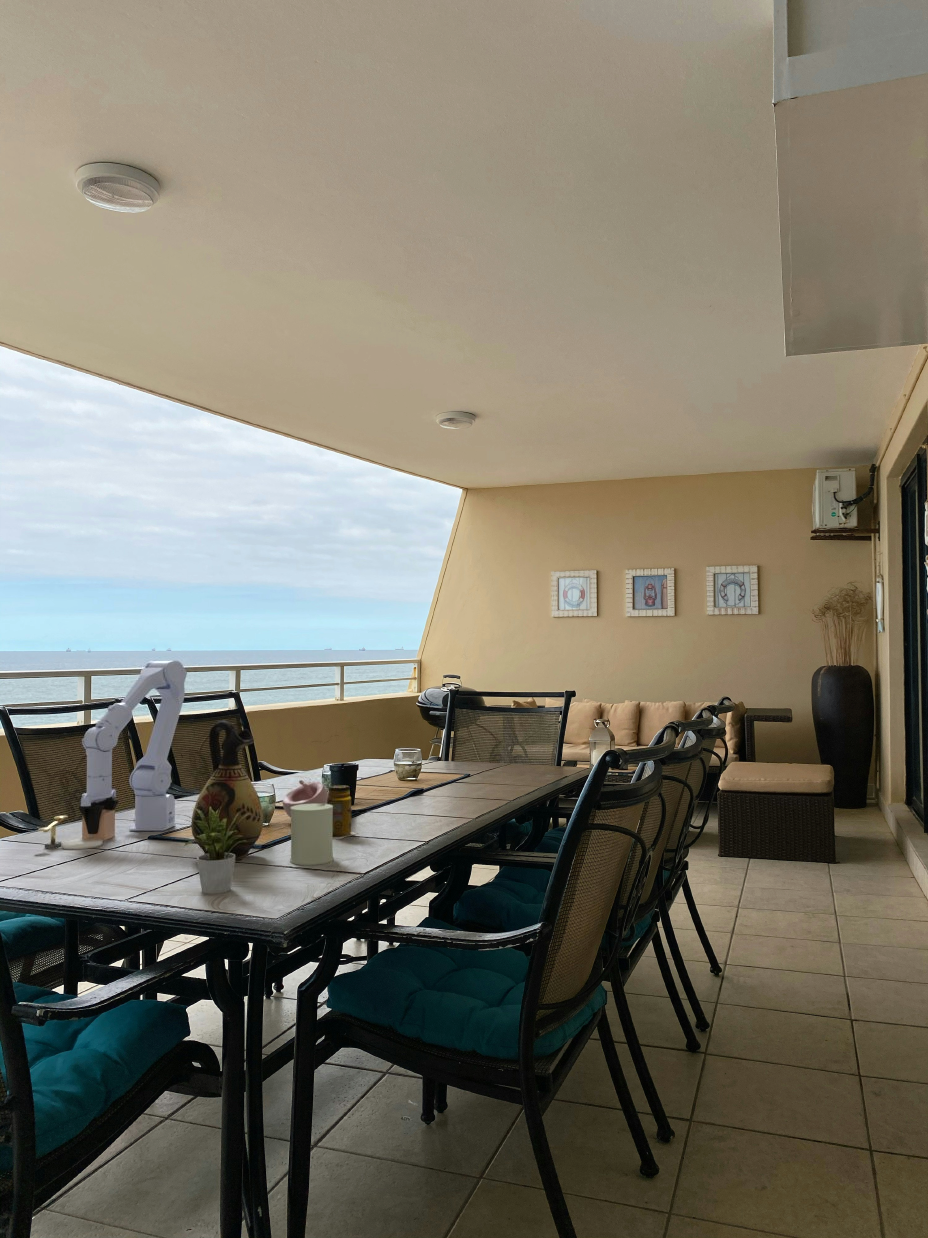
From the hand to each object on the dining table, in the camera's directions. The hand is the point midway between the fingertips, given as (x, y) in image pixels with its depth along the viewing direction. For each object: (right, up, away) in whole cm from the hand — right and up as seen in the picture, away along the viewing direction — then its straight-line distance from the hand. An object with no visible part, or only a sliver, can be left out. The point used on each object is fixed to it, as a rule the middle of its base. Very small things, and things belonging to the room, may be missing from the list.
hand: (98, 831), depth 216 cm
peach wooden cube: (0, -2, 0) cm, 2 cm away
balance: (-7, -1, -10) cm, 12 cm away
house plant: (+42, +1, -51) cm, 66 cm away
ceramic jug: (+37, 0, -23) cm, 44 cm away
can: (+57, 0, -27) cm, 63 cm away
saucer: (0, -1, -9) cm, 9 cm away
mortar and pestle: (+47, -3, +20) cm, 51 cm away
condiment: (+59, -2, +1) cm, 59 cm away
